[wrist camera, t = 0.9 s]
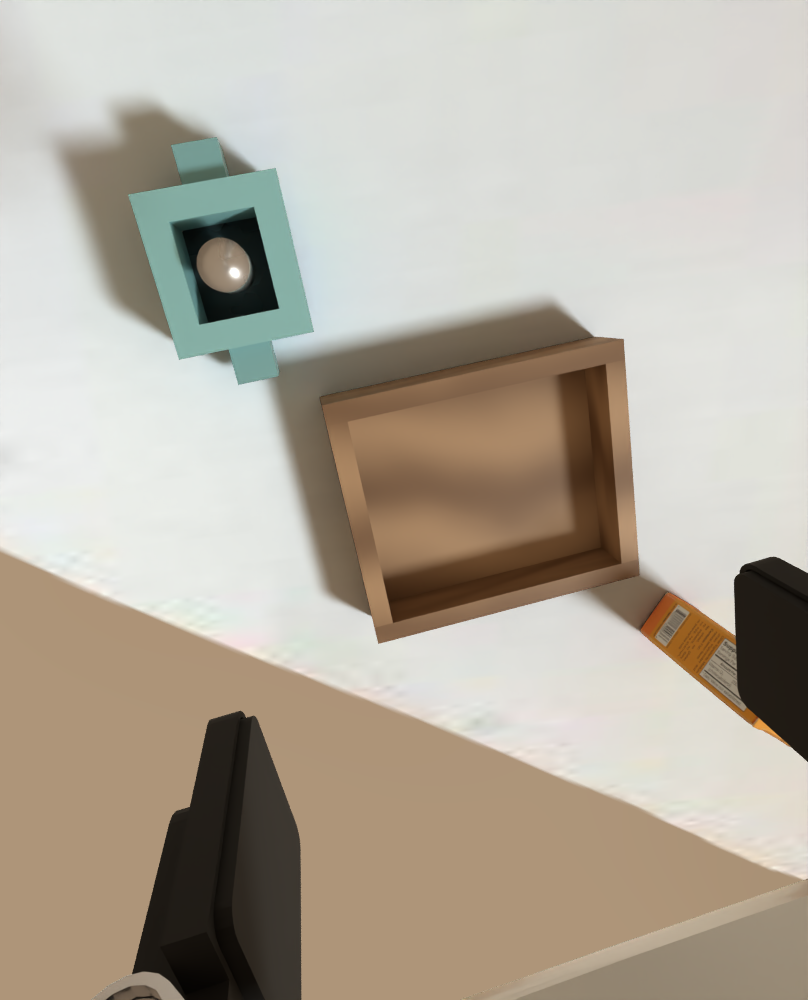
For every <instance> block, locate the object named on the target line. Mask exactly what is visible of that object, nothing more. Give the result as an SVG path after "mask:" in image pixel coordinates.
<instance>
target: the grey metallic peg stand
mask: <svg viewBox="0 0 808 1000" xmlns="http://www.w3.org/2000/svg"><path fill="white" fill-rule="evenodd" d="M182 233H183V237H184V240H185V244H186V247H187V251H188V254H189V258H190V261H191V265H192V268H193V272H194V275H195V279H196V282H197V286H198V289H199V293H200V296H201V299H202V303H203V306H204V310H205V313H206V317H207V320H208V323H211V322H216V321H221V320H226V319H231V318H236V317H241V316H246V315H251V314H256V313H261V312H266V311H271V310H275V309H279V305H278V301H277V297H276V293H275V289H274V285H273V281H272V277H271V273H270V269H269V265H268V261H267V257H266V253H265V249H264V245H263V241H262V237H261V233H260V229H259V225H258V221H257V217H254V218H249V219H243V220H238V221H233V222H227V223H222V224H217V225H211V226H206V227H200V228H195V229H190V230H184V231H182Z"/></svg>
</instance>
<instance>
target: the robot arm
mask: <svg viewBox="0 0 808 1000" xmlns="http://www.w3.org/2000/svg"><path fill="white" fill-rule="evenodd" d="M734 597H735V630H736V662H737V688H738V693H739V696H740V698H741V700H742V702H743V703H744V704H745V706H746V707H747V708H748V709H749V710H750V711H751V712H753V713H754V714H755V715H756V716H757V717H758V718H759V719H760V720H762V721H763V722H764V723H765V724H766V725H767V726H768V727H769V728H770V729H772V730H773V731H774V732H775V733H776V734H777V735H778V736H779V737H781V738H782V739H783V740H784V741H785V742H786V743H787V744H788V745H789V746H791V747H792V748H793V749H794V750H795V751H796V752H797V753H798V754H800V755H801V756H802V757H803V758H804V759H805V760H806V761H807V762H808V573H806V572H805V571H803V570H801V569H799V568H797V567H795V566H793V565H791V564H789V563H787V562H785V561H784V560H782V559H780V558H777V557H769V558H765V559H762V560H759V561H755V562H752V563H748V564H745V565H744V566H742V567H741V569H740V574H738V575H737V576H736V577H735V579H734ZM300 870H301V867H300V839H299V833H298V829H297V826H296V823H295V820H294V817H293V814H292V812H291V809H290V806H289V804H288V801H287V798H286V796H285V793H284V790H283V787H282V785H281V782H280V779H279V777H278V774H277V771H276V769H275V766H274V763H273V760H272V758H271V755H270V752H269V750H268V747H267V744H266V742H265V739H264V736H263V733H262V731H261V728H260V726H259V723H258V720H257V718H256V717H255V716H251V717H247V718H246V717H245V715H244V713H243V712H242V711H238V712H235V713H231V714H228V715H224V716H221V717H218V718H214V719H211V720H210V721H209V722H208V725H207V729H206V734H205V739H204V743H203V748H202V753H201V758H200V762H199V767H198V772H197V776H196V781H195V786H194V790H193V795H192V800H191V804H190V807H188V808H185V809H181V810H178V811H176V812H175V813H174V814H173V815H172V818H171V820H170V823H169V827H168V831H167V835H166V839H165V843H164V847H163V852H162V855H161V859H160V863H159V867H158V871H157V875H156V880H155V884H154V888H153V892H152V896H151V900H150V904H149V908H148V912H147V916H146V920H145V924H144V928H143V932H142V936H141V940H140V944H139V949H138V953H137V956H136V961H135V965H134V969H133V973H132V975H128V976H126V977H123V978H122V979H120V980H118V981H116V982H114V983H112V984H110V985H109V986H107V987H106V988H105V989H104V990H102V992H100V993H99V994H98V995H97V996H95V997H94V998H93V999H91V1000H301V879H300V878H301V871H300ZM462 1000H808V879H806V880H803V881H800V882H797V883H794V884H791V885H788V886H785V887H782V888H780V889H777V890H774V891H771V892H768V893H765V894H763V895H759V896H756V897H753V898H750V899H748V900H745V901H742V902H739V903H736V904H733V905H730V906H727V907H724V908H722V909H719V910H716V911H713V912H710V913H707V914H704V915H701V916H698V917H695V918H692V919H690V920H687V921H684V922H681V923H678V924H675V925H672V926H669V927H667V928H664V929H661V930H658V931H655V932H652V933H649V934H646V935H644V936H641V937H638V938H635V939H632V940H629V941H626V942H623V943H621V944H617V945H615V946H612V947H609V948H606V949H603V950H600V951H597V952H595V953H592V954H589V955H586V956H583V957H580V958H578V959H575V960H572V961H569V962H567V963H563V964H561V965H558V966H555V967H552V968H549V969H546V970H543V971H541V972H538V973H535V974H532V975H529V976H526V977H524V978H521V979H518V980H515V981H512V982H510V983H507V984H504V985H501V986H498V987H495V988H492V989H489V990H487V991H484V992H481V993H478V994H475V995H473V996H470V997H467V998H464V999H462Z"/></svg>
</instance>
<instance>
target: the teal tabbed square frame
mask: <svg viewBox="0 0 808 1000" xmlns="http://www.w3.org/2000/svg"><path fill="white" fill-rule="evenodd" d="M171 147H172V150H173V154H174V157H175V161H176V164H177V168H178V171H179V175H180V179H181V182H182V185H179V186H173V187H167V188H162V189H156V190H151V191H145V192H139V193H134V194H128V196H129V199H130V202H131V205H132V209H133V212H134V215H135V218H136V222H137V225H138V228H139V231H140V234H141V238H142V241H143V244H144V247H145V251H146V254H147V257H148V260H149V264H150V267H151V270H152V273H153V276H154V280H155V283H156V286H157V289H158V293H159V296H160V299H161V302H162V306H163V309H164V312H165V315H166V318H167V322H168V325H169V328H170V331H171V335H172V338H173V341H174V344H175V348H176V351H177V354H178V357H179V360H180V359H185V358H189V357H194V356H199V355H204V354H209V353H214V352H218V351H223V350H228V349H229V353H230V356H231V360H232V363H233V367H234V371H235V374H236V378H237V381H238V385H240V384H244V383H249V382H254V381H259V380H263V379H268V378H273V377H277V376H278V375H279V368H278V364H277V361H276V357H275V353H274V349H273V345H272V340H276V339H281V338H286V337H291V336H296V335H300V334H305V333H310V332H314V330H313V326H312V322H311V318H310V313H309V309H308V305H307V300H306V296H305V292H304V288H303V283H302V279H301V275H300V270H299V266H298V262H297V258H296V253H295V249H294V245H293V240H292V236H291V232H290V227H289V223H288V219H287V215H286V210H285V206H284V202H283V197H282V193H281V189H280V185H279V180H278V176H277V172H276V168H274V169H268V170H263V171H257V172H252V173H246V174H240V175H235V176H229V174H228V170H227V166H226V162H225V158H224V154H223V150H222V148H221V146H220V144H219V142H218V139H217V137H214V138H209V139H203V140H197V141H191V142H185V143H179V144H174V145H171ZM254 217H257V221H258V225H259V229H260V233H261V237H262V241H263V245H264V249H265V253H266V257H267V261H268V265H269V269H270V273H271V277H272V281H273V285H274V289H275V293H276V297H277V301H278V305H279V309H275V310H271V311H266V312H261V313H256V314H251V315H246V316H241V317H236V318H231V319H226V320H221V321H216V322H211V323H208V320H207V317H206V313H205V310H204V306H203V303H202V299H201V296H200V293H199V289H198V286H197V282H196V279H195V275H194V272H193V268H192V265H191V261H190V258H189V254H188V251H187V247H186V244H185V240H184V237H183V233H182V231H184V230H190V229H195V228H200V227H206V226H211V225H217V224H222V223H227V222H233V221H238V220H243V219H249V218H254Z"/></svg>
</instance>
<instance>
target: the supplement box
mask: <svg viewBox="0 0 808 1000" xmlns="http://www.w3.org/2000/svg"><path fill="white" fill-rule="evenodd" d="M640 631H641V633H642V634H643V635H644V636H645V637H647V638H648V639H649V640H650V641H651V642H652V643H653V644H655V645H656V646H657V647H658V648H659V649H661V650H662V651H663V652H664V653H665V654H666V655H668V656H669V657H670V658H671V659H672V660H673V661H675V662H676V663H677V664H678V665H679V666H681V667H682V668H683V669H684V670H685V671H686V672H688V673H689V674H690V675H691V676H692V677H694V678H695V679H696V680H697V681H698V682H700V683H701V684H702V685H703V686H704V687H706V688H707V689H708V690H709V691H710V692H712V693H713V694H714V695H715V696H716V697H718V698H719V699H720V700H721V701H723V702H724V703H725V704H726V705H727V706H729V707H730V708H731V709H732V710H733V711H735V712H736V713H737V714H738V715H739V716H741V717H742V718H743V719H744V720H746V721H747V722H748V723H750V724H751V725H752V726H753V727H754V728H757V729H759V730H763V731H764V732H766V733H768V734H770V735H772V736H773V737H775V738H777V739H778V740H780V741H781V742H783V743H784V744H786V745H787V746H789V745H788V744H787V743H786V742H785V741H784V740H783V739H782V738H781V737H779V736H778V735H777V734H776V733H775V732H774V731H773V730H772V729H770V728H769V727H768V726H767V725H766V724H765V723H764V722H763V721H762V720H760V719H759V718H758V717H757V716H756V715H755V714H754V713H753V712H751V711H750V710H749V709H748V708H747V707H746V706H745V704H744V703H743V702H742V700H741V698H740V696H739V693H738V688H737V662H736V636H735V635H733V634H732V633H730V632H729V631H727V630H726V629H725V628H723V627H722V626H720V625H719V624H717V623H716V622H714V621H713V620H712V619H710V618H709V617H707V616H706V615H704V614H703V613H702V612H701V611H699V610H698V609H696V608H695V607H693V606H692V605H690V604H688V603H687V602H685V601H683V600H682V599H680V598H678V597H676V596H675V595H673V594H671V593H669V592H668V593H666V594H665V595H664V597H663V598H662V599H661V601H660V602H659V603H658V605H657V606H656V608H655V609H654V610H653V612H652V613H651V615H650V616H649V618H648V619H647V621H646V622H645V624H644V625H643V627H642V628H641V630H640ZM789 747H791V746H789Z"/></svg>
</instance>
